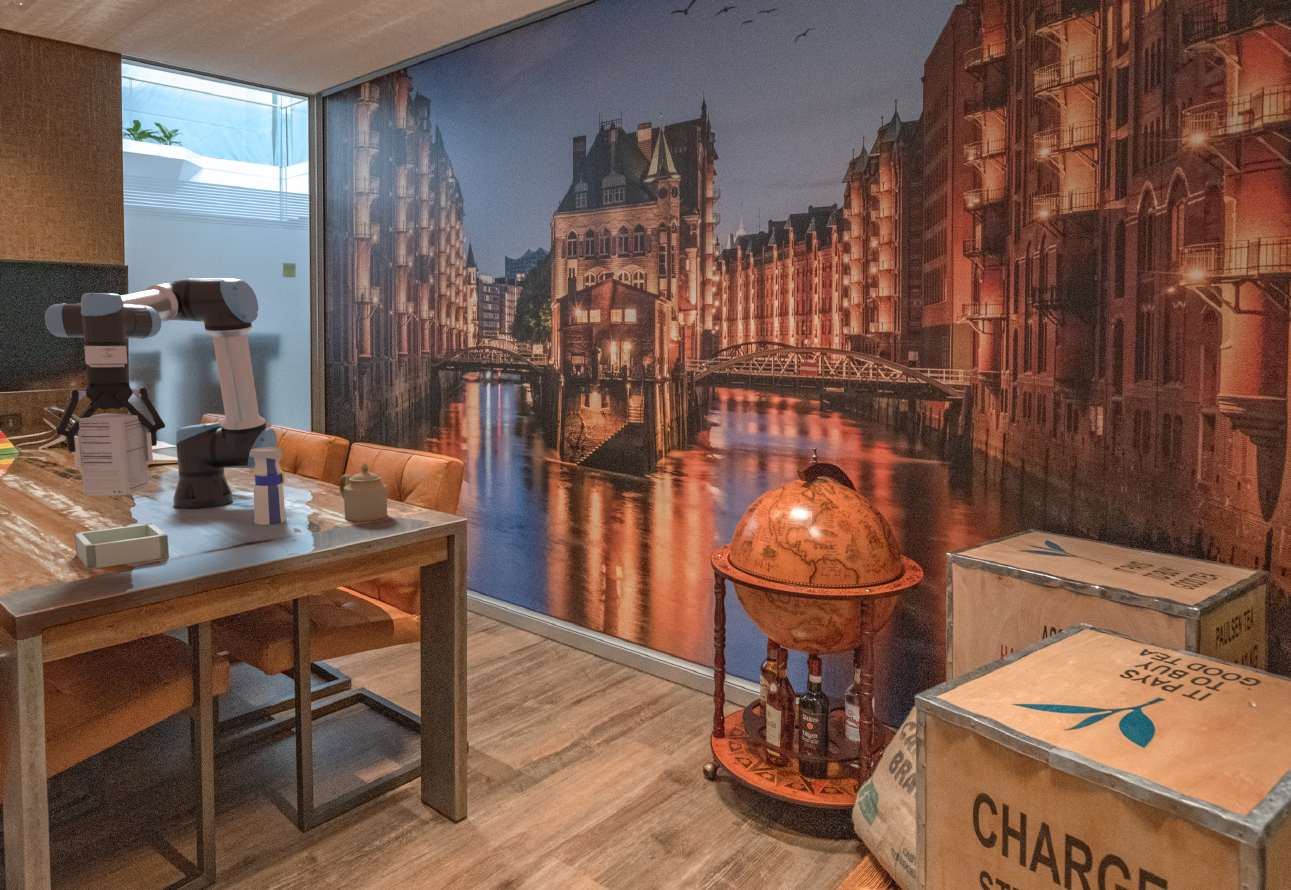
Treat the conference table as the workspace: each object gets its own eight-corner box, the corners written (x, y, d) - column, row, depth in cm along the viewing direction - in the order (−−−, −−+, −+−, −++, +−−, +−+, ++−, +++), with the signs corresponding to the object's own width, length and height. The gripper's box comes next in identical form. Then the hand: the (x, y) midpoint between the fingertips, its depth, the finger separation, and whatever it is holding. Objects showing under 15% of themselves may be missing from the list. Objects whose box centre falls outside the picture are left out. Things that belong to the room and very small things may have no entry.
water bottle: (280, 516, 220) (275, 425, 216) (292, 521, 214) (287, 427, 210) (248, 520, 214) (243, 427, 210) (260, 526, 208) (254, 430, 204)
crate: (153, 543, 190) (151, 523, 189) (169, 556, 179) (167, 535, 178) (76, 555, 180) (74, 533, 179) (88, 569, 169) (86, 546, 168)
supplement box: (107, 487, 182) (101, 413, 179) (150, 487, 182) (145, 413, 180) (82, 495, 172) (75, 417, 170) (127, 495, 173) (121, 417, 171)
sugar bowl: (323, 520, 215) (321, 465, 213) (343, 511, 226) (341, 458, 224) (376, 522, 214) (374, 466, 212) (394, 513, 225) (392, 460, 223)
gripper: (38, 367, 163) (47, 471, 165) (176, 365, 179) (182, 460, 182) (33, 366, 168) (42, 467, 171) (167, 364, 185) (174, 456, 187)
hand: (114, 463), depth 176 cm, fingers closed on supplement box, 12 cm apart
